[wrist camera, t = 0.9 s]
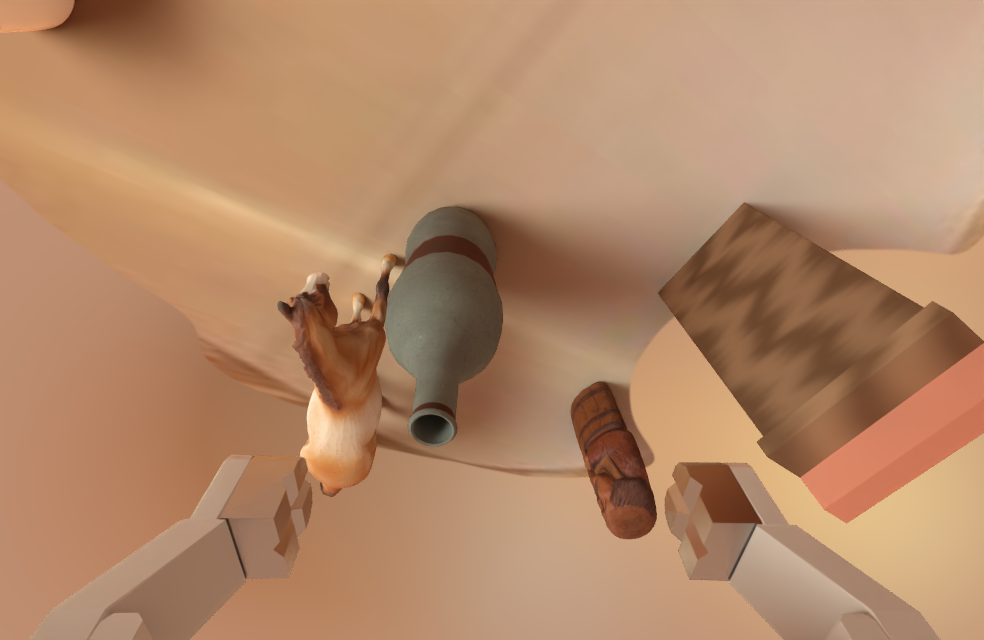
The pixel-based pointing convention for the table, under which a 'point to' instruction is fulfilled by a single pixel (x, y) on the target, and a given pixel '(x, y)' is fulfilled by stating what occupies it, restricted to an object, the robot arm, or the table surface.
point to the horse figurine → (340, 379)
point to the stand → (807, 337)
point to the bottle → (444, 315)
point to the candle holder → (33, 14)
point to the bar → (903, 441)
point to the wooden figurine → (613, 463)
